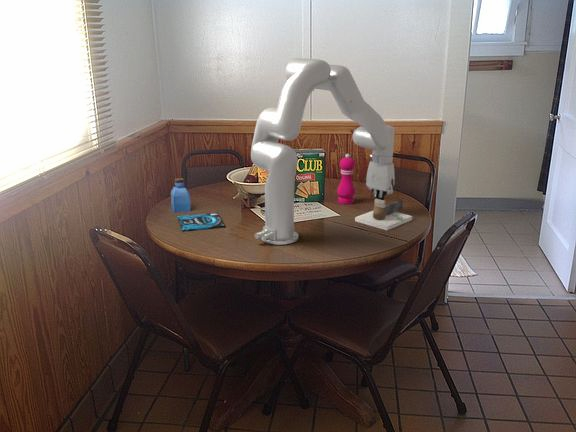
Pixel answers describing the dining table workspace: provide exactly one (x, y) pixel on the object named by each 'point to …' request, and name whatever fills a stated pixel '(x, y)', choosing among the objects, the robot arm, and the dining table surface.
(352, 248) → the dining table surface
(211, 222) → the guitar string package
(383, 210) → the brown grey handled piece
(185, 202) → the perfume bottle
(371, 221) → the dial board
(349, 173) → the pepper mill
